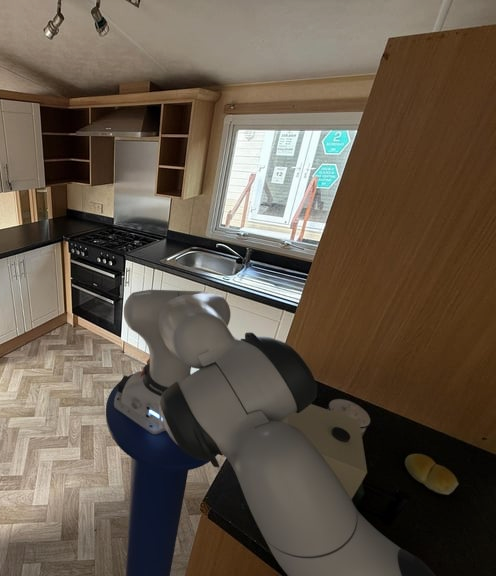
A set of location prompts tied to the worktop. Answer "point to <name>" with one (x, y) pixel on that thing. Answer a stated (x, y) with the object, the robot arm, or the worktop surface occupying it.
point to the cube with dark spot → (335, 443)
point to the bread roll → (431, 474)
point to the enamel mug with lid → (350, 412)
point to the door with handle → (396, 499)
